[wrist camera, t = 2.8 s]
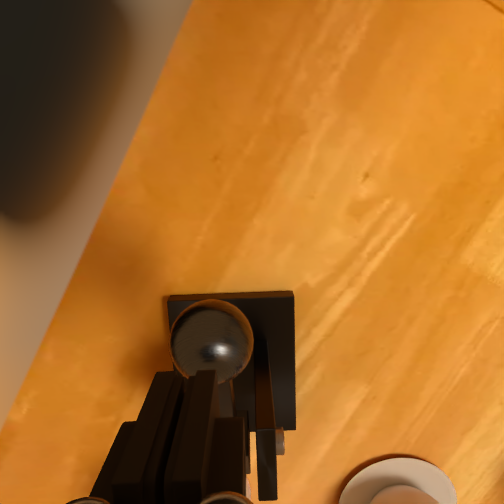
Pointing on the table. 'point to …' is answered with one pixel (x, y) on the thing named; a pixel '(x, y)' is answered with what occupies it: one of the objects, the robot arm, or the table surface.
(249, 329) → the ball knob lever
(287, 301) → the black lever base
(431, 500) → the teacup
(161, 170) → the table surface
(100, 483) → the robot arm
